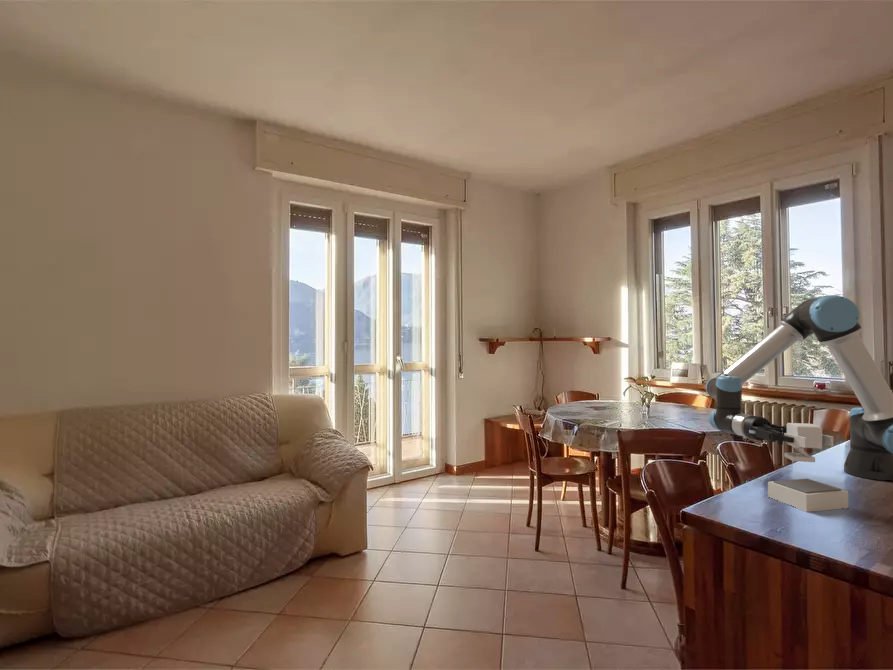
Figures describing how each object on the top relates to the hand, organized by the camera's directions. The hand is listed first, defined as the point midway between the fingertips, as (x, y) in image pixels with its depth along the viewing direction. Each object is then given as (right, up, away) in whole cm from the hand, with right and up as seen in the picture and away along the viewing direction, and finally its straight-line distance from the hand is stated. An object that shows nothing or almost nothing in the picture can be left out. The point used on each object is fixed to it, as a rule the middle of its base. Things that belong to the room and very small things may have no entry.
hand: (819, 442), depth 131 cm
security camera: (-1, -6, +4) cm, 8 cm away
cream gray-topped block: (-1, -18, +4) cm, 19 cm away
